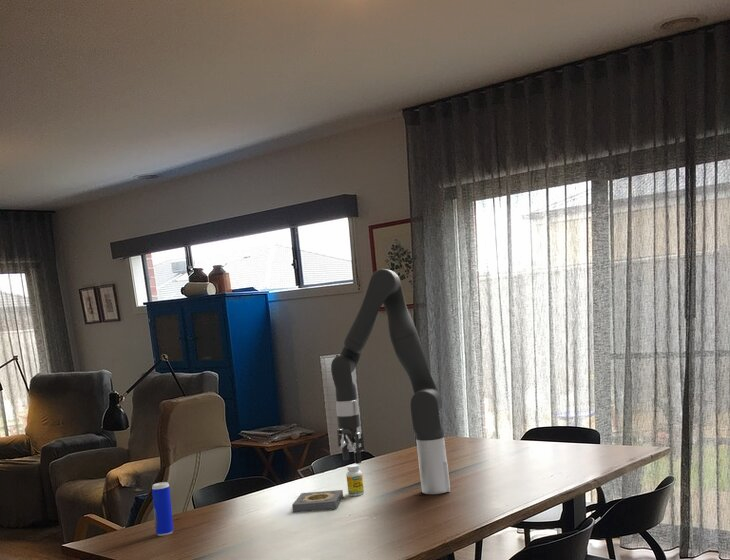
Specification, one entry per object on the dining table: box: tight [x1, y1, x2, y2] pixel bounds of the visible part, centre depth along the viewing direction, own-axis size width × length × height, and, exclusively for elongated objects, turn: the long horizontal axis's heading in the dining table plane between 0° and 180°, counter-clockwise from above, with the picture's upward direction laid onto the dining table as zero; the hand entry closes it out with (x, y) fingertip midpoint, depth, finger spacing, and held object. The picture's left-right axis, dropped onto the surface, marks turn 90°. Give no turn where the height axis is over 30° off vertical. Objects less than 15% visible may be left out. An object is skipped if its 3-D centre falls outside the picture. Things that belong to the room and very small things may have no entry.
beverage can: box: [151, 481, 174, 537], centre depth 213 cm, size 5×5×15 cm
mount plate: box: [291, 489, 344, 514], centre depth 226 cm, size 14×14×2 cm
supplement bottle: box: [346, 463, 365, 497], centre depth 235 cm, size 5×5×10 cm
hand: (352, 461), depth 236 cm, fingers open, 8 cm apart
